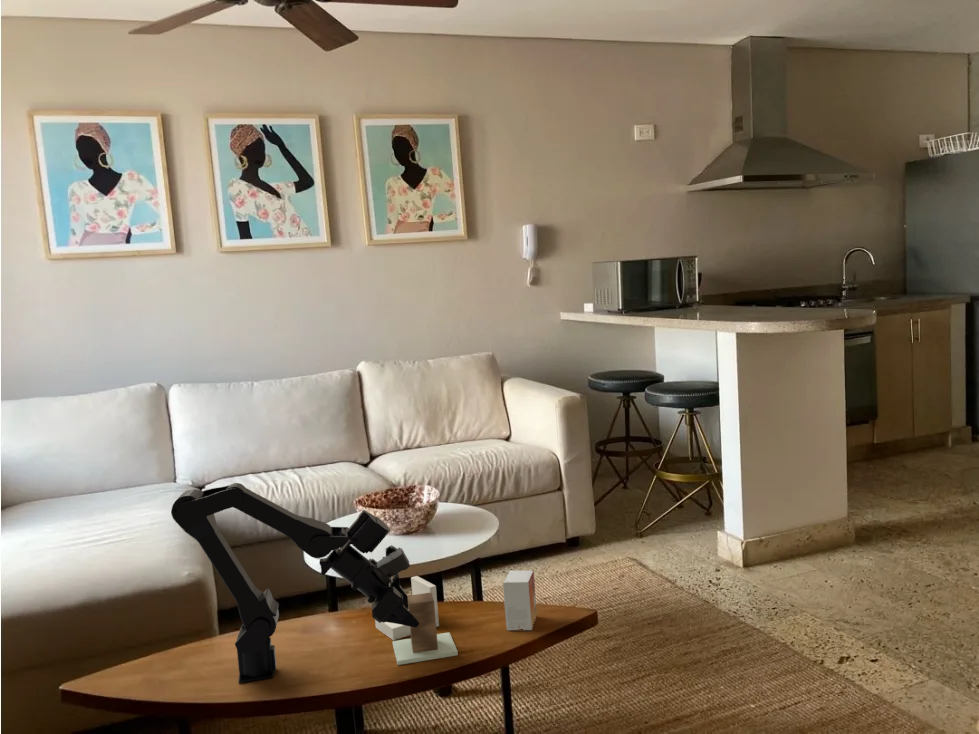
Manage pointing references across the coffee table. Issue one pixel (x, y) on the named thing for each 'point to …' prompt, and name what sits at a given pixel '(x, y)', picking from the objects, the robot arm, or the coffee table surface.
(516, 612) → the small box
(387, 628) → the ledge
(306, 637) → the coffee table surface
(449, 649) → the pad
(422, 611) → the walnut block
